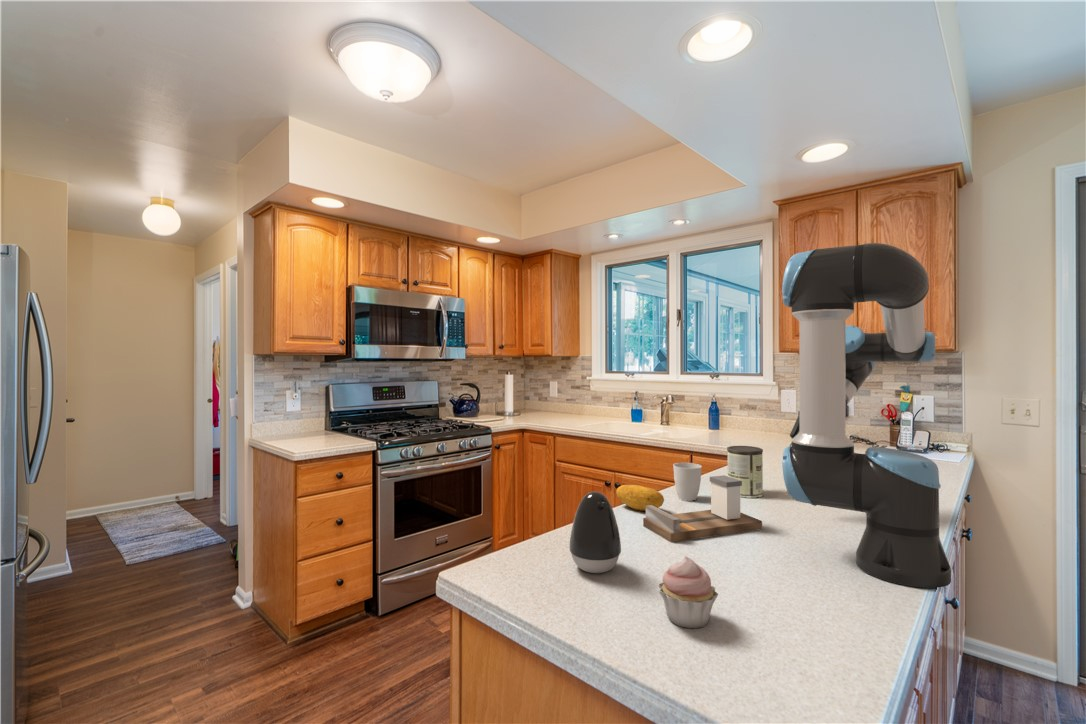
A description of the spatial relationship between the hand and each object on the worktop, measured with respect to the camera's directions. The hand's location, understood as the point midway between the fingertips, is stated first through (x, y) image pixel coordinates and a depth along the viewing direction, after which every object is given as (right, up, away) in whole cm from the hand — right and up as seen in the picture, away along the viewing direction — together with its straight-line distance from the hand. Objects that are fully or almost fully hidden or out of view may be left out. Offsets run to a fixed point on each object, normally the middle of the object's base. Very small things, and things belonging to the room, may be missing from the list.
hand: (787, 461), depth 134 cm
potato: (-38, -15, +6) cm, 41 cm away
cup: (-22, -15, +17) cm, 31 cm away
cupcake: (-42, -15, -53) cm, 69 cm away
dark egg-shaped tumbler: (-54, -15, -33) cm, 65 cm away
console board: (-25, -15, -9) cm, 31 cm away
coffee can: (-2, -15, +22) cm, 27 cm away
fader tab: (-19, -12, -7) cm, 24 cm away
